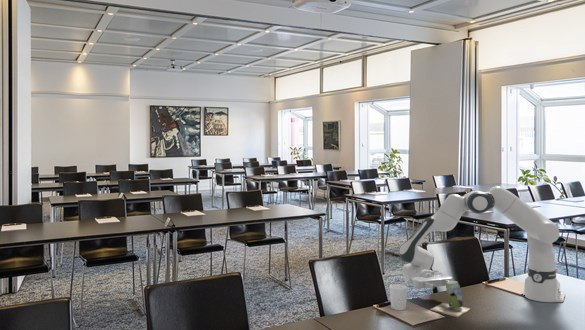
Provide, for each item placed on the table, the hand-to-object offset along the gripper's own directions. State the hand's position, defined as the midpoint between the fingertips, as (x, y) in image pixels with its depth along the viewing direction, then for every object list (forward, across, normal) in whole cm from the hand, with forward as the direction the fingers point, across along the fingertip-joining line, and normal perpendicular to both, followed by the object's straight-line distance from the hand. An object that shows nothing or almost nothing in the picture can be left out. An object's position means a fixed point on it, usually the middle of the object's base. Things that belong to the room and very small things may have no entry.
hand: (442, 285), depth 222 cm
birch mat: (+6, 0, +9) cm, 11 cm away
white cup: (-5, -20, +10) cm, 23 cm away
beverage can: (+5, +3, +9) cm, 11 cm away
